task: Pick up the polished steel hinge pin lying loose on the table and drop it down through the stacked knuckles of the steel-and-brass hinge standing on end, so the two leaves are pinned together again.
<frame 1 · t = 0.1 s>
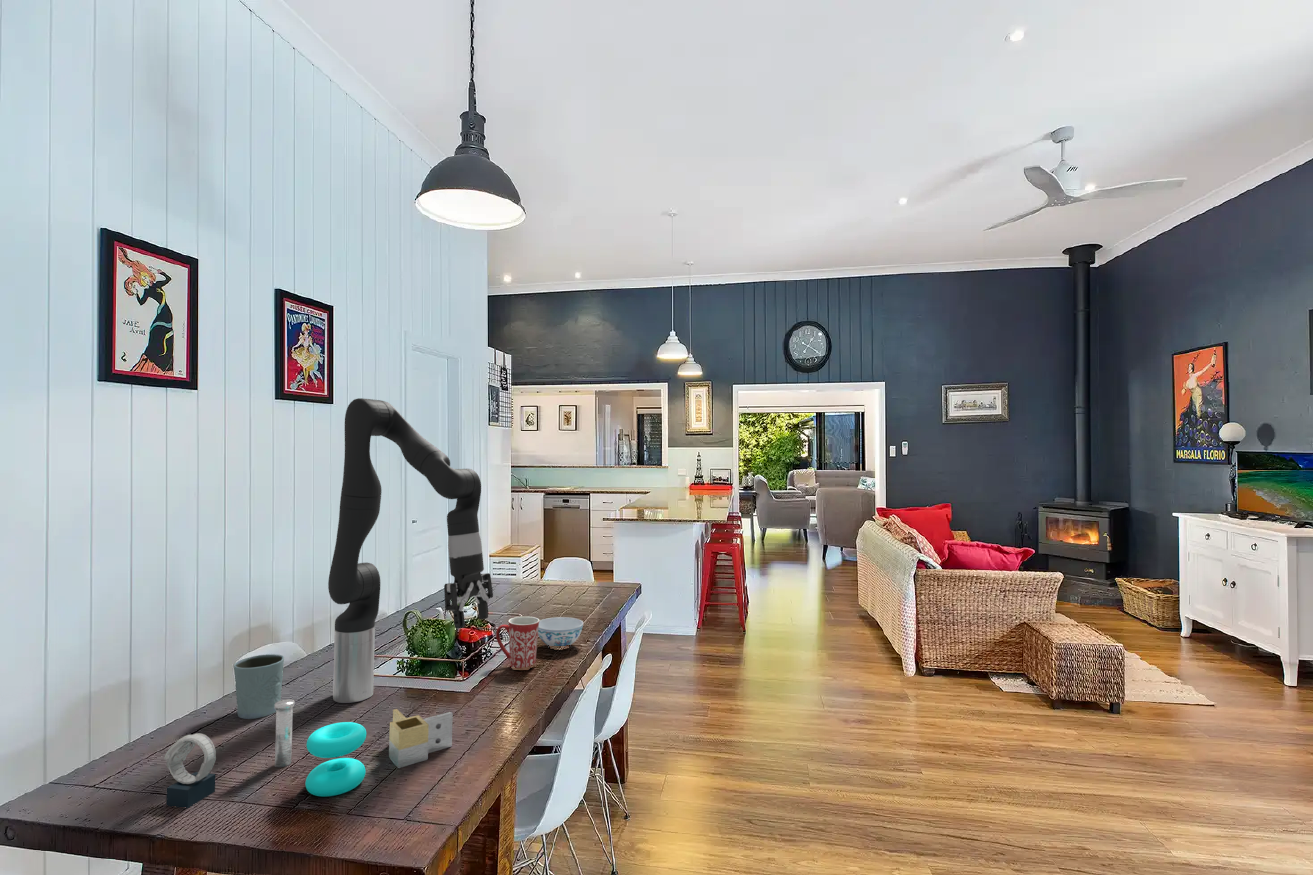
hand: (472, 623, 146), 22 cm above the table, tool pointing down, fingers open, 8 cm apart
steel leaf: (408, 758, 127), on the table
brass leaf: (408, 758, 127), on the table
watch: (190, 799, 112), on the table
embossed green planter pot: (257, 712, 149), on the table
mug: (517, 667, 182), on the table
donuts: (335, 786, 117), on the table
hinge pin: (283, 763, 124), on the table
chinaware: (559, 648, 201), on the table
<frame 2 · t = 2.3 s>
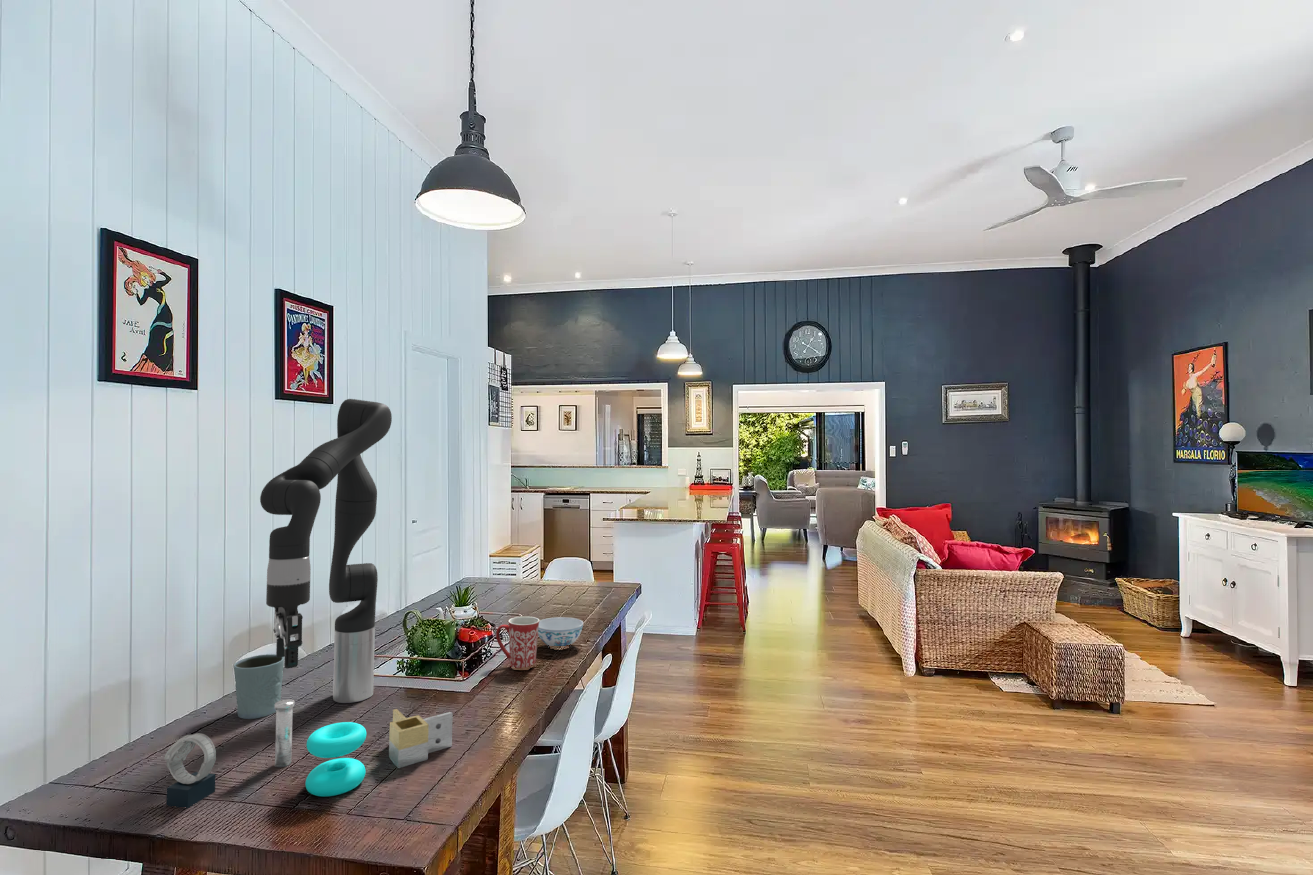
hand: (286, 661, 125), 20 cm above the table, tool pointing down, fingers open, 8 cm apart
nothing on the table moved.
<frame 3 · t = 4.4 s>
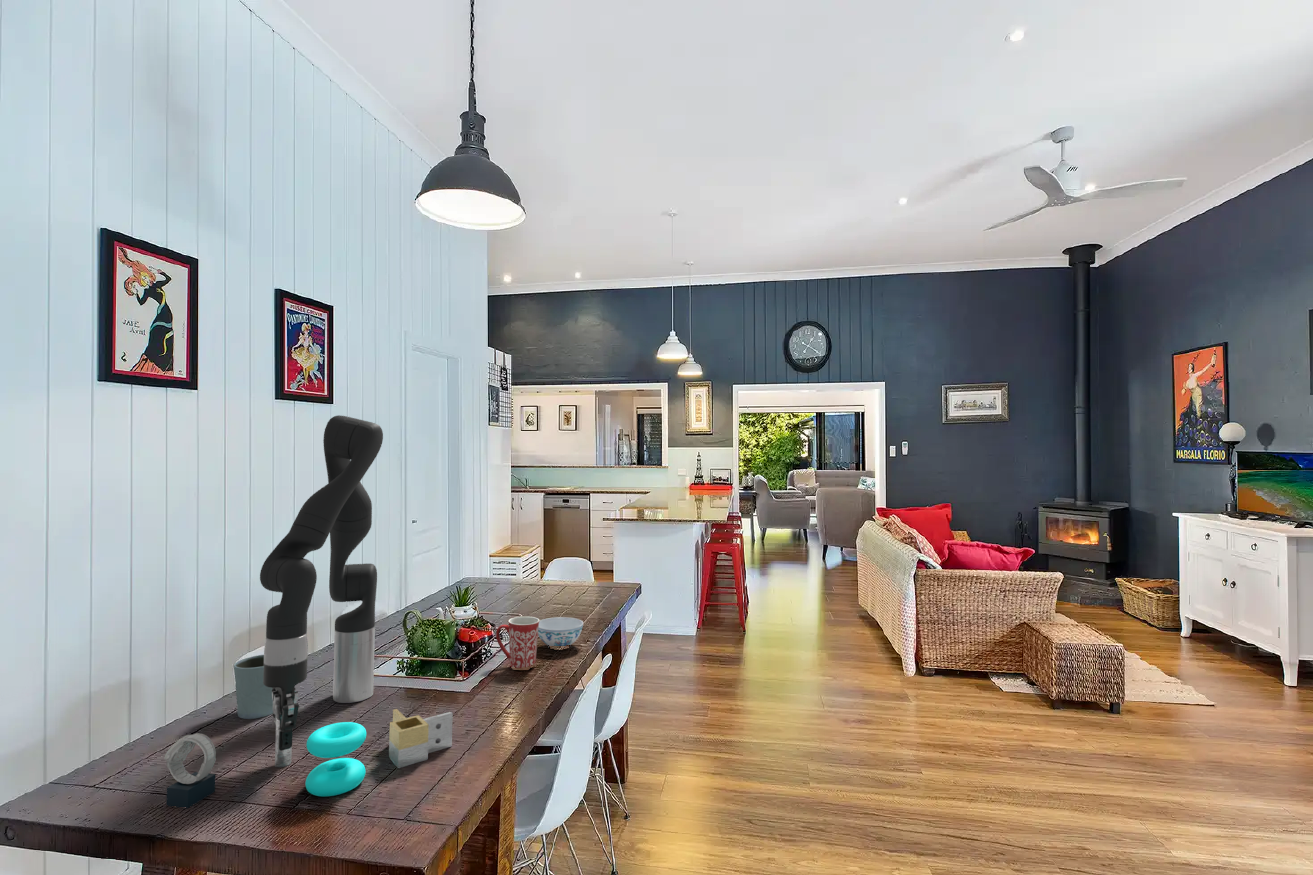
hand: (283, 745, 124), 4 cm above the table, tool pointing down, fingers closed on hinge pin, 2 cm apart
hinge pin: (283, 763, 124), on the table, touching gripper
everything else where it was.
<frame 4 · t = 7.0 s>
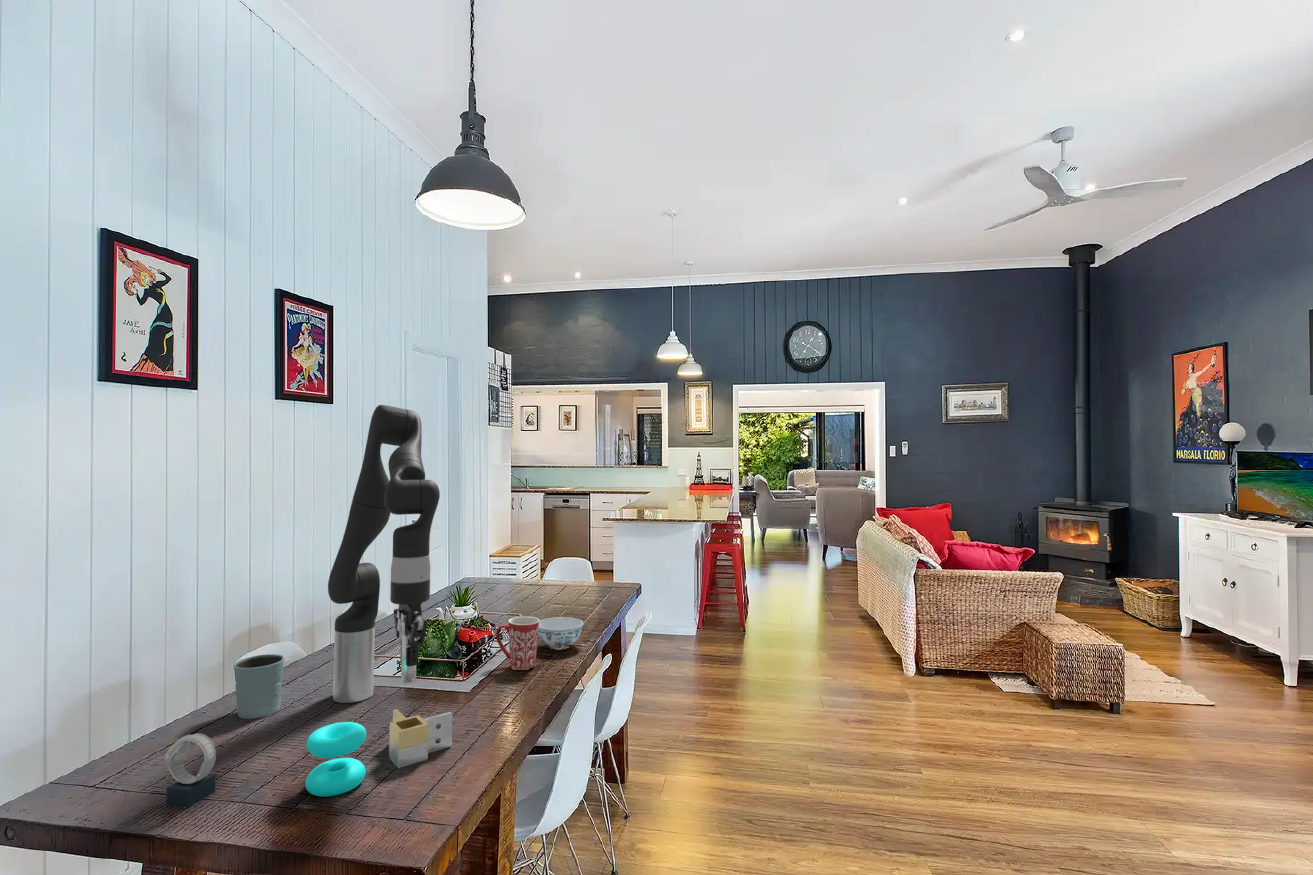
hand: (409, 662, 127), 19 cm above the table, tool pointing down, fingers closed on hinge pin, 2 cm apart
hinge pin: (408, 680, 127), point 16 cm above the table, touching gripper
everything else where it was.
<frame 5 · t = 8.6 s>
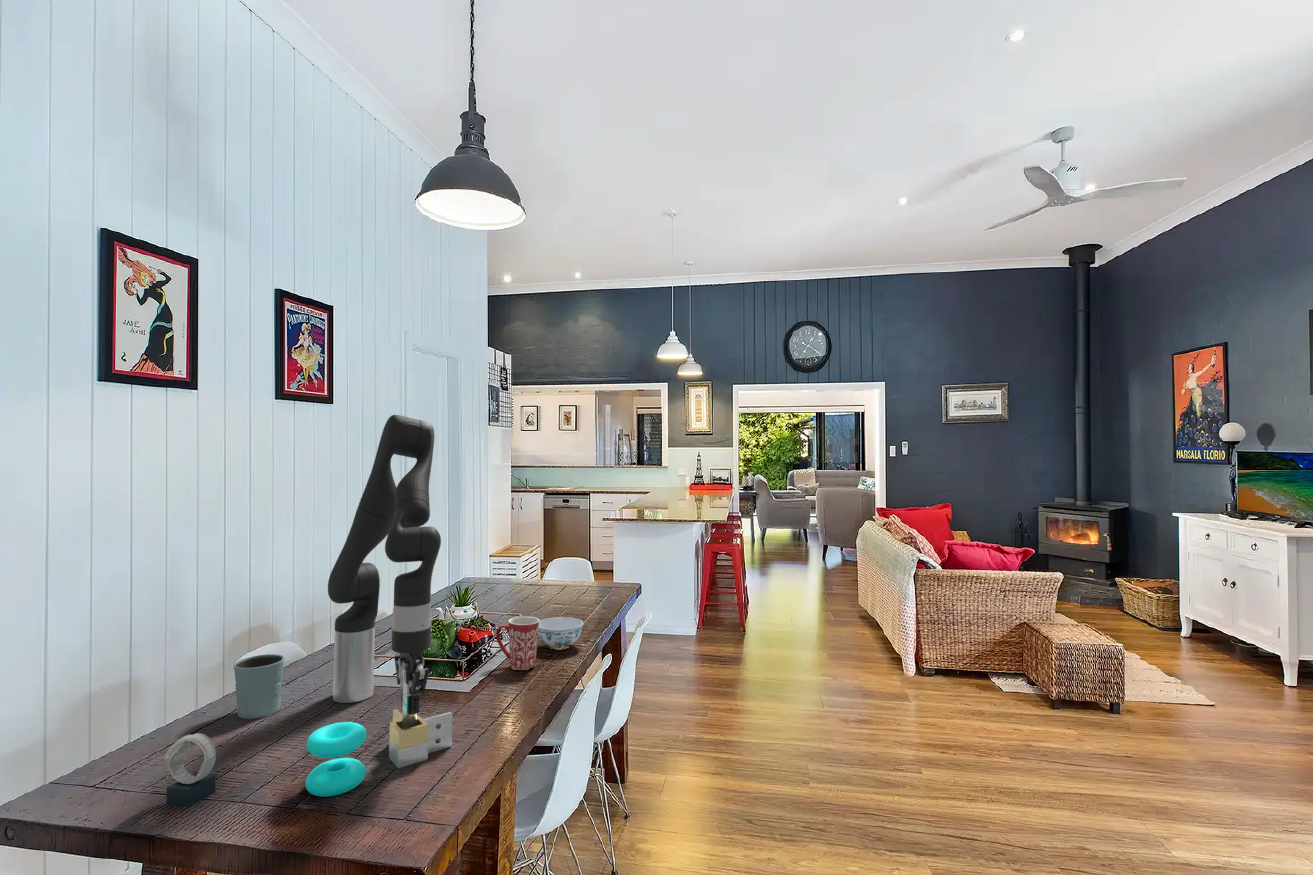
hand: (410, 710, 127), 10 cm above the table, tool pointing down, fingers closed on hinge pin, 2 cm apart
hinge pin: (409, 728, 127), point 6 cm above the table, touching gripper
everything else where it was.
when the fingers open (8 cm above the table, at t = 9.6 s): hinge pin drops 4 cm, resting in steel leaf.
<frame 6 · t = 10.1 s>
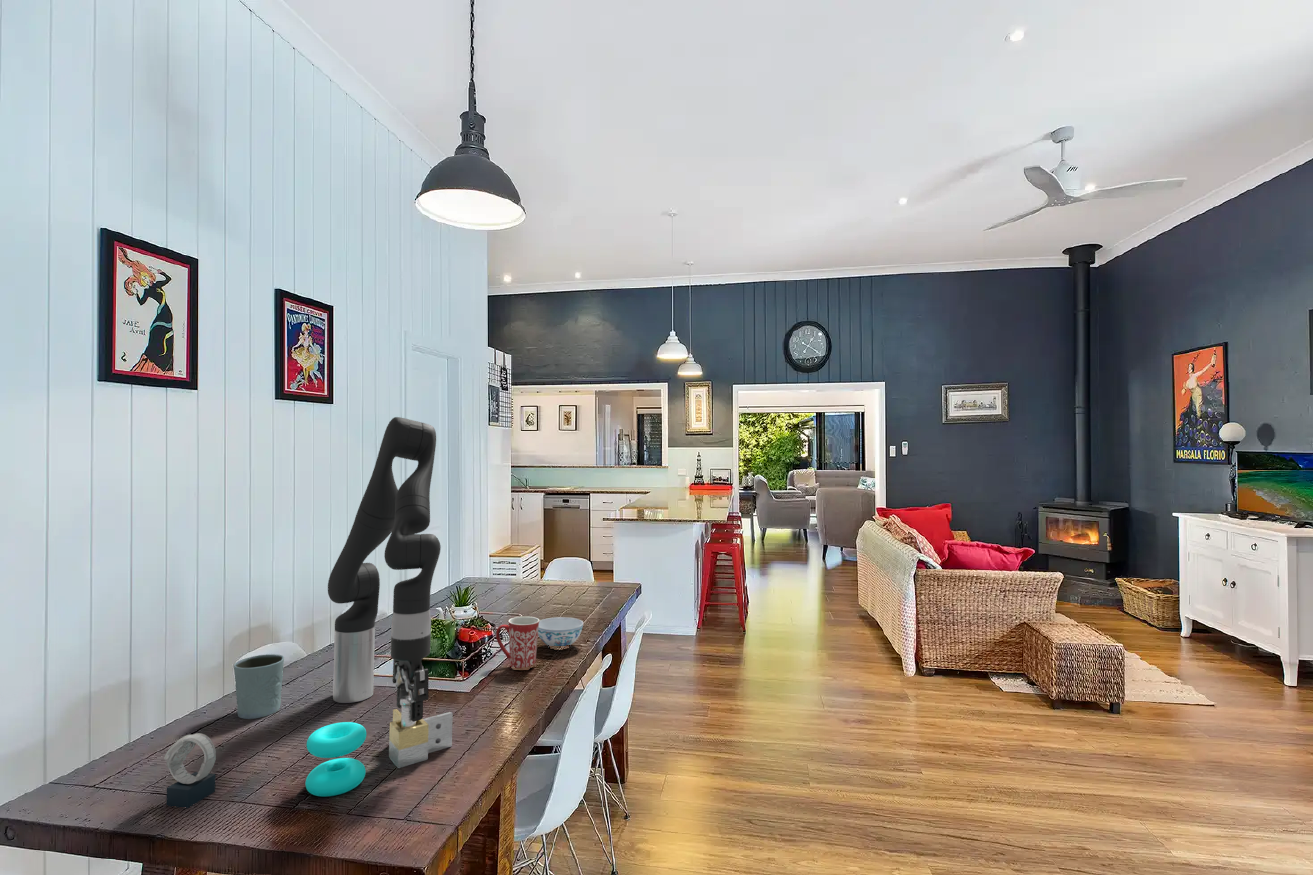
hand: (409, 713, 127), 9 cm above the table, tool pointing down, fingers open, 8 cm apart
hinge pin: (407, 758, 127), resting in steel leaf
everything else where it was.
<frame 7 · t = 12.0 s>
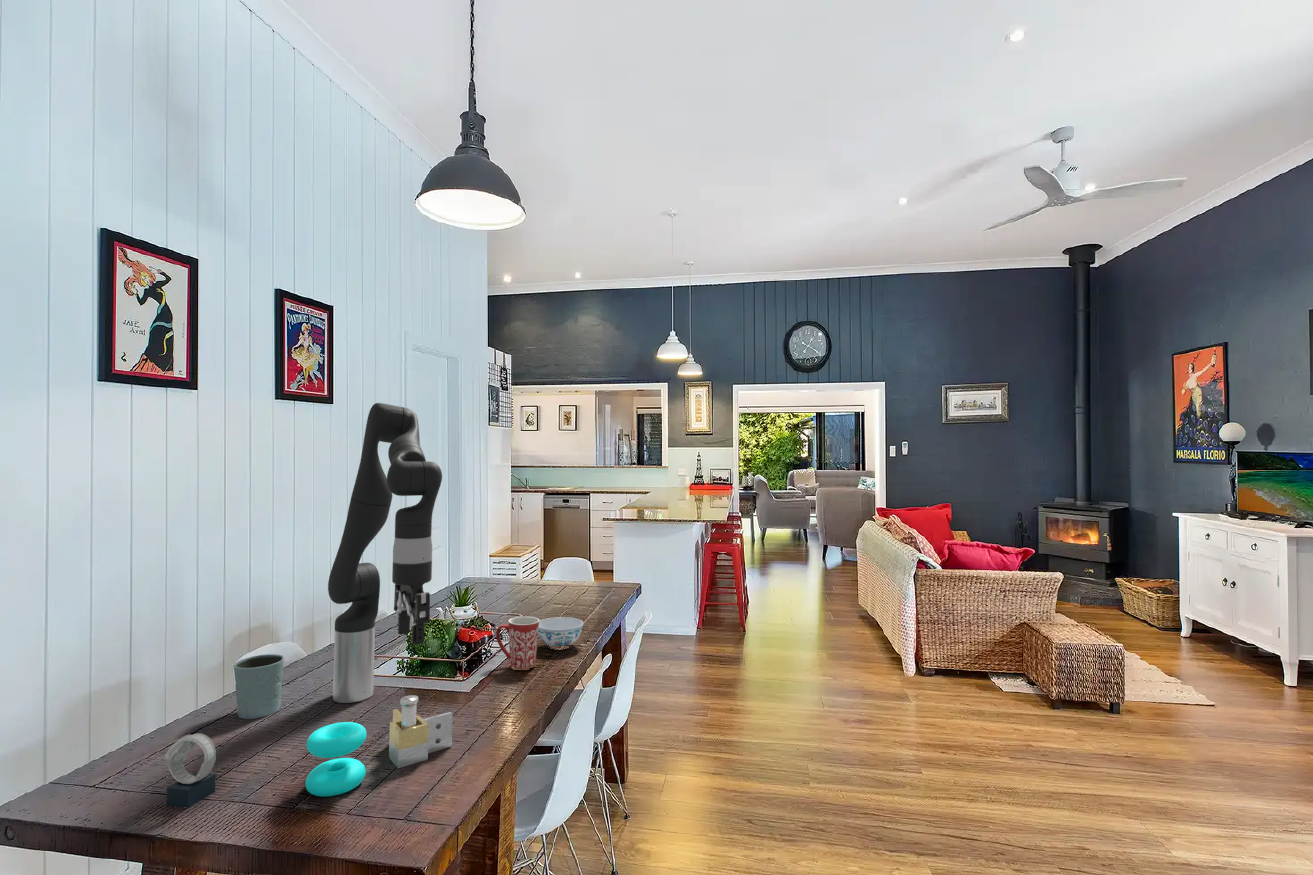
hand: (410, 638, 128), 24 cm above the table, tool pointing down, fingers open, 8 cm apart
nothing on the table moved.
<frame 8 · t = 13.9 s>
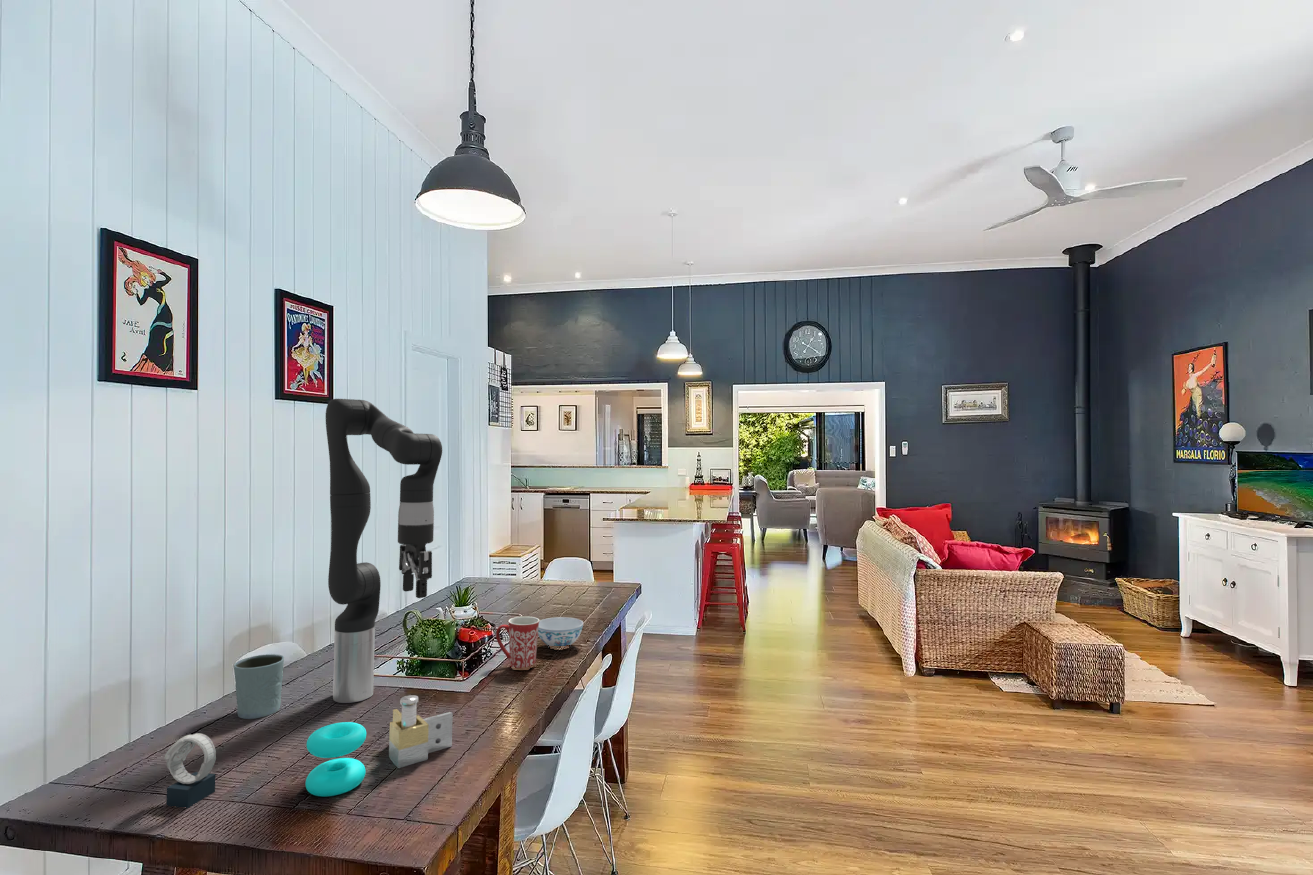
hand: (414, 594, 141), 30 cm above the table, tool pointing down, fingers open, 8 cm apart
nothing on the table moved.
at the end: hinge pin 0.1 cm off-centre on the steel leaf, point 0.0 cm above the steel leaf's base; hinge pin tilted 0°; the gripper is holding nothing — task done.
